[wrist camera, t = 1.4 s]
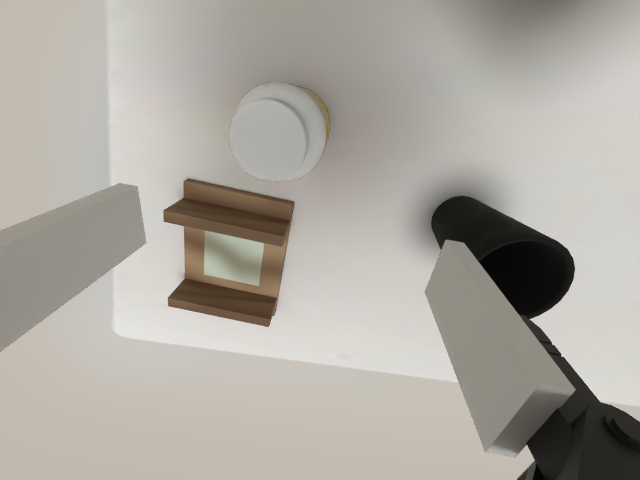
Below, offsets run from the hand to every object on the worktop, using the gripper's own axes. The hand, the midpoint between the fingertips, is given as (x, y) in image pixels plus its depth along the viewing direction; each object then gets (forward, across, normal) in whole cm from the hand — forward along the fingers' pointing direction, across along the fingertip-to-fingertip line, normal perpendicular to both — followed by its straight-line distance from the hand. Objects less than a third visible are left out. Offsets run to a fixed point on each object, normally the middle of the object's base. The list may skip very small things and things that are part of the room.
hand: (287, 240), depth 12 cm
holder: (+19, -9, -13) cm, 25 cm away
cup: (+20, +16, -5) cm, 25 cm away
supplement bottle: (+19, -3, +2) cm, 20 cm away
